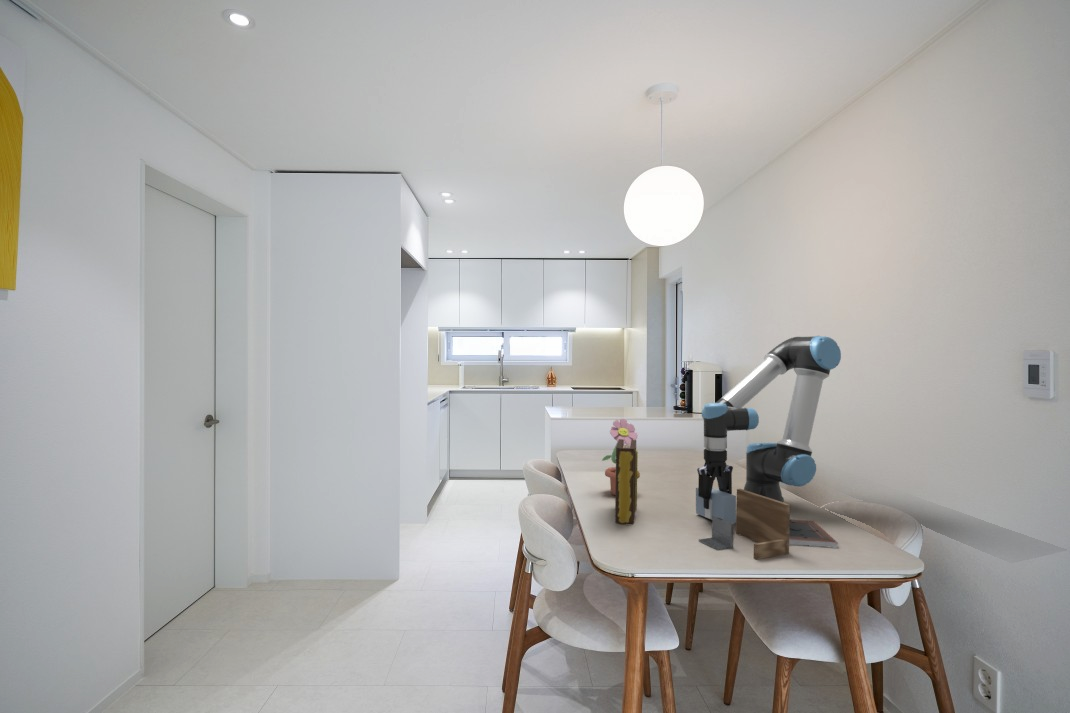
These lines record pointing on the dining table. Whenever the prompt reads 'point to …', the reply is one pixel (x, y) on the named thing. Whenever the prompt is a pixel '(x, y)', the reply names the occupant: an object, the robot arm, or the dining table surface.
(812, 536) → the picture frame
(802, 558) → the dining table surface
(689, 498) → the dining table surface
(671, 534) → the dining table surface
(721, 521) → the bookend
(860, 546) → the dining table surface
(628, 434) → the decorative flower
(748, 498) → the shelf
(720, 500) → the boxed book
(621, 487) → the book
